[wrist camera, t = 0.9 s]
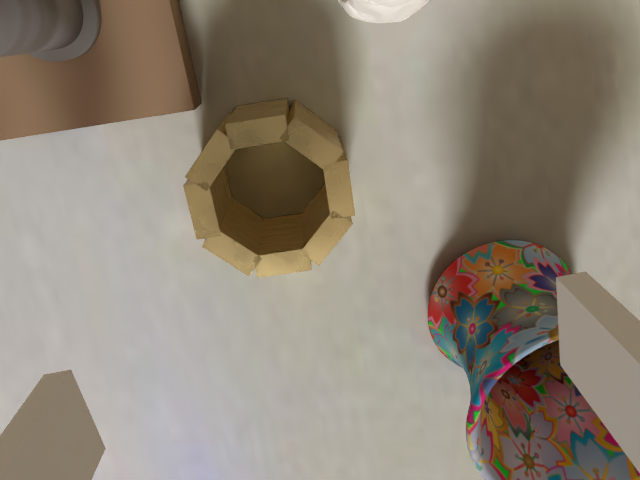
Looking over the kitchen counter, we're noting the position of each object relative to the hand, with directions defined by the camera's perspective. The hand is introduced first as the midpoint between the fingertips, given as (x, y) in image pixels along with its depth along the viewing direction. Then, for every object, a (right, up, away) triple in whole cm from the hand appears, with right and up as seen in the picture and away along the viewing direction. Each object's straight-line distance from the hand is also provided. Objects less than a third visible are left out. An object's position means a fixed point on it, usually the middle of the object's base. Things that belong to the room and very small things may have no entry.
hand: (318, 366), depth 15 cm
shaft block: (-12, +14, +11) cm, 21 cm away
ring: (-2, +7, +14) cm, 16 cm away
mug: (+10, -1, +18) cm, 21 cm away
